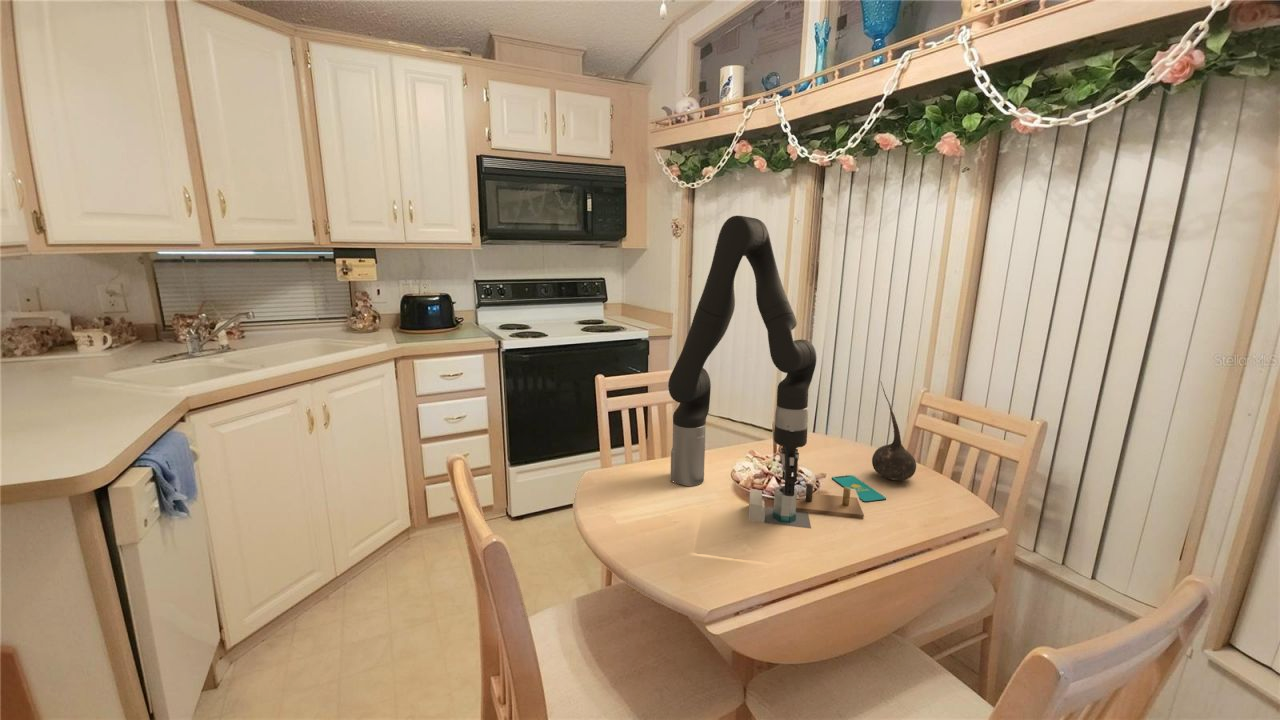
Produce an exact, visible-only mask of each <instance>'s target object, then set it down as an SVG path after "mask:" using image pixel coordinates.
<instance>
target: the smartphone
mask: <svg viewBox="0 0 1280 720" xmlns="http://www.w3.org/2000/svg"><path fill="white" fill-rule="evenodd" d="M831 480H832V481H834V482H835V483H836V484H837V485H838V486H840V487H842V488H843V489H844V487H849V488H850V489H851V490H855V492H856V495H857V498H858V499H859V500H860V501H861V502H862V503H867V504H868V503H873V502H882V501H886V500H887V497H885V496H884V495H883V494H881V493H879V492H878V491H877V490H876V489H874V488H872V487H871V486H869V485H868V484H866V483H865V482H863V481H862V480H860V478H857V477H856V476H855V475H852V474H851V475H842V476H841V475H840V476H832V477H831Z"/></svg>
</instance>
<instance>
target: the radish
mask: <svg viewBox="0 0 1280 720" xmlns="http://www.w3.org/2000/svg"><path fill="white" fill-rule="evenodd" d="M879 382H880V384H881V388H882V391H883V394H884V397H885V399H886V402H887V403H888V408H889V411H890V416H891V422H892V427H893V428H892V429H893V431H892V432H893V440H892V443H889V444H885V445H882V446H880V447H878V448H877V449H876V450H875V451H874V453H873V455H872V457H871V463H872V468H873V469H874V471H875V472H876V473H877V474H878V475H879V476H881V477H883V478H885V479H889V480H890V481H891V480H893V481H898V482H900V481H907V480H908V479H911V478H912V477H913V476H914V475H915V473H916V470H917V461H916V459H915V457H914V456H913V455H912V454H911V452H909V451H908V450H906V449H905V447H904V446H903V444H902V439H901V433H900V428H899V425H898V422H897V419H896V416H895V413H894V411H893V409H892V405H891V403H890V401H889V399H888V396H887V395H886V392H885V388H884V385H883V383H882V381H881V380H880V381H879Z"/></svg>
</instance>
